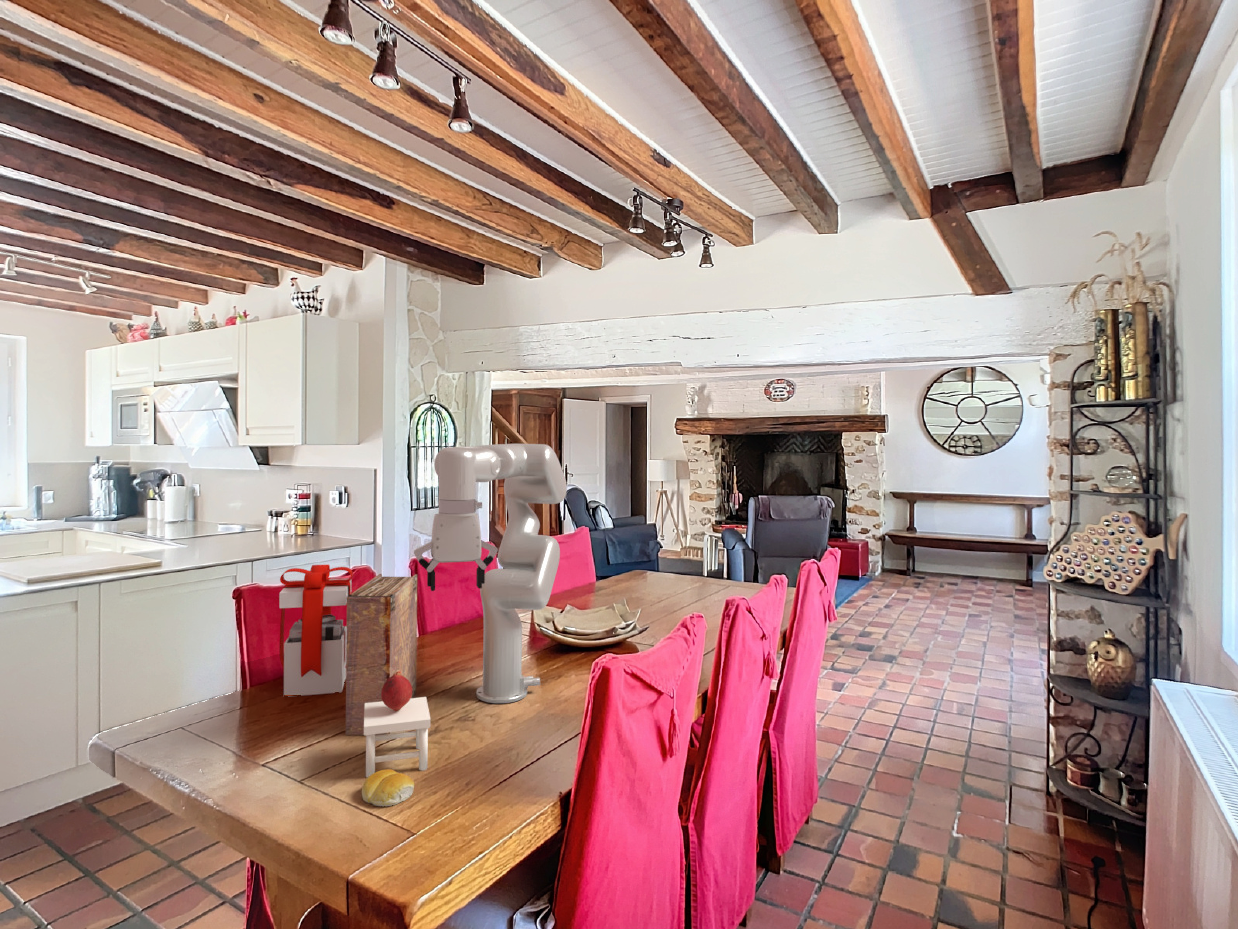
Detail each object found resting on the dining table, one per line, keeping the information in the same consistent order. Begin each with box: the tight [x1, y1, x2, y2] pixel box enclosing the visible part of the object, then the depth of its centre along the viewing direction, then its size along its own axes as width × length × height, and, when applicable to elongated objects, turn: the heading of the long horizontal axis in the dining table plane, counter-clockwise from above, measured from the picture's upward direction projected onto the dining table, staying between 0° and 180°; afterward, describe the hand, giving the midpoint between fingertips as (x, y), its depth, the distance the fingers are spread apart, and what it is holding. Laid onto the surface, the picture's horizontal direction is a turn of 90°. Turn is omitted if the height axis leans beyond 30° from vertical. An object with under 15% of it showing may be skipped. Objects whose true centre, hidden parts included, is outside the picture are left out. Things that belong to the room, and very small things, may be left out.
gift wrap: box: [278, 564, 354, 696], centre depth 174 cm, size 17×17×30 cm
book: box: [345, 573, 418, 736], centre depth 158 cm, size 25×9×30 cm, turn 4°
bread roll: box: [361, 768, 415, 808], centre depth 122 cm, size 8×9×4 cm
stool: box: [363, 696, 431, 779], centre depth 135 cm, size 12×12×10 cm
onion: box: [381, 670, 412, 711], centre depth 134 cm, size 6×6×8 cm
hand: (456, 588), depth 144 cm, fingers open, 9 cm apart
